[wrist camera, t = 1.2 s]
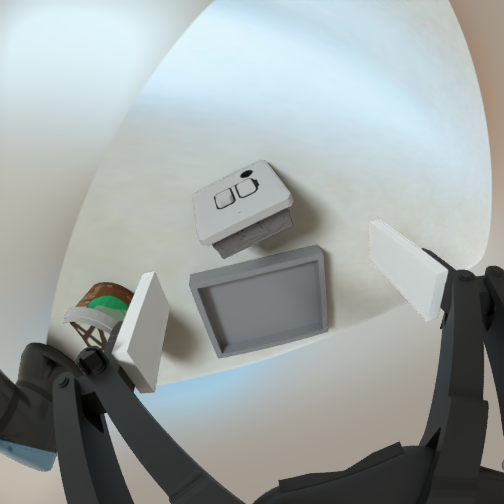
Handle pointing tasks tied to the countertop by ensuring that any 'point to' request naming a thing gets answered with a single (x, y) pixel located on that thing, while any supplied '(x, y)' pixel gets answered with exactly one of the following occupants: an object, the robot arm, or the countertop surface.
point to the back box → (263, 301)
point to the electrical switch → (242, 209)
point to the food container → (99, 312)
